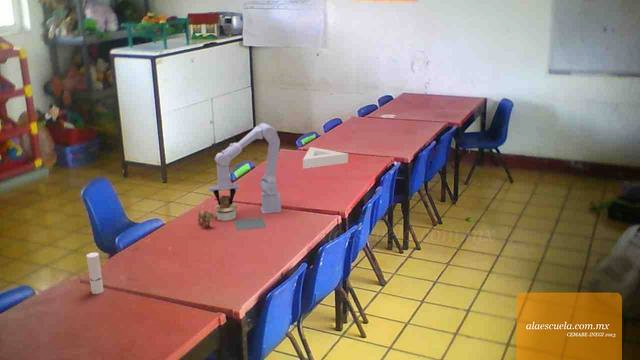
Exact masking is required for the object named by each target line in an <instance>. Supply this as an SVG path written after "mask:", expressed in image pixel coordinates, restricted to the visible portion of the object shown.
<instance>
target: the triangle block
mask: <svg viewBox="0 0 640 360" xmlns="http://www.w3.org/2000/svg"><path fill="white" fill-rule="evenodd" d="M340 164H349V153H347V152H346V153H345V152H340V151H335V150H330V149H324V148H320V147H319V148H318V147H313V146H310V147H309V148H308V150H307V151H306V154H305V155H304V157H303V158H302V169H304V170H305V169H310V168H311V167H312V168H319V167H325V166H333V165H340Z"/></svg>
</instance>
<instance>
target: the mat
mask: <svg viewBox="0 0 640 360" xmlns="http://www.w3.org/2000/svg"><path fill="white" fill-rule="evenodd" d="M233 223H234V226H235V228H236V231H237V232H238V231H248V230H255V229H256V230H257V229H266V228H268V227H267V225H266V223H265V220H264V218H263V216H258V217H249V218H239V219H233Z"/></svg>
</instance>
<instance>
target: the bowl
mask: <svg viewBox="0 0 640 360" xmlns="http://www.w3.org/2000/svg"><path fill="white" fill-rule="evenodd" d="M215 211H216V210H215ZM236 212H237V211H236V209H235V210H233V211H228V212H219V211H216V214H215V216H216V219H217V220H218V221H222V222H224V221H225V222H226V221H232V220H235V219H236V218H237V215H236Z"/></svg>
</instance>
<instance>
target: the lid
mask: <svg viewBox="0 0 640 360" xmlns="http://www.w3.org/2000/svg"><path fill="white" fill-rule="evenodd" d="M219 200H220V206H219V205H218V204H216V205H215V206H214V207H213V209H214V211H219V212H228V211H233V210H235V211H236V210H237V208H238V205H237V204H236V203H233V202H232V204H231V203H230V195H221V196H219Z"/></svg>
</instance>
